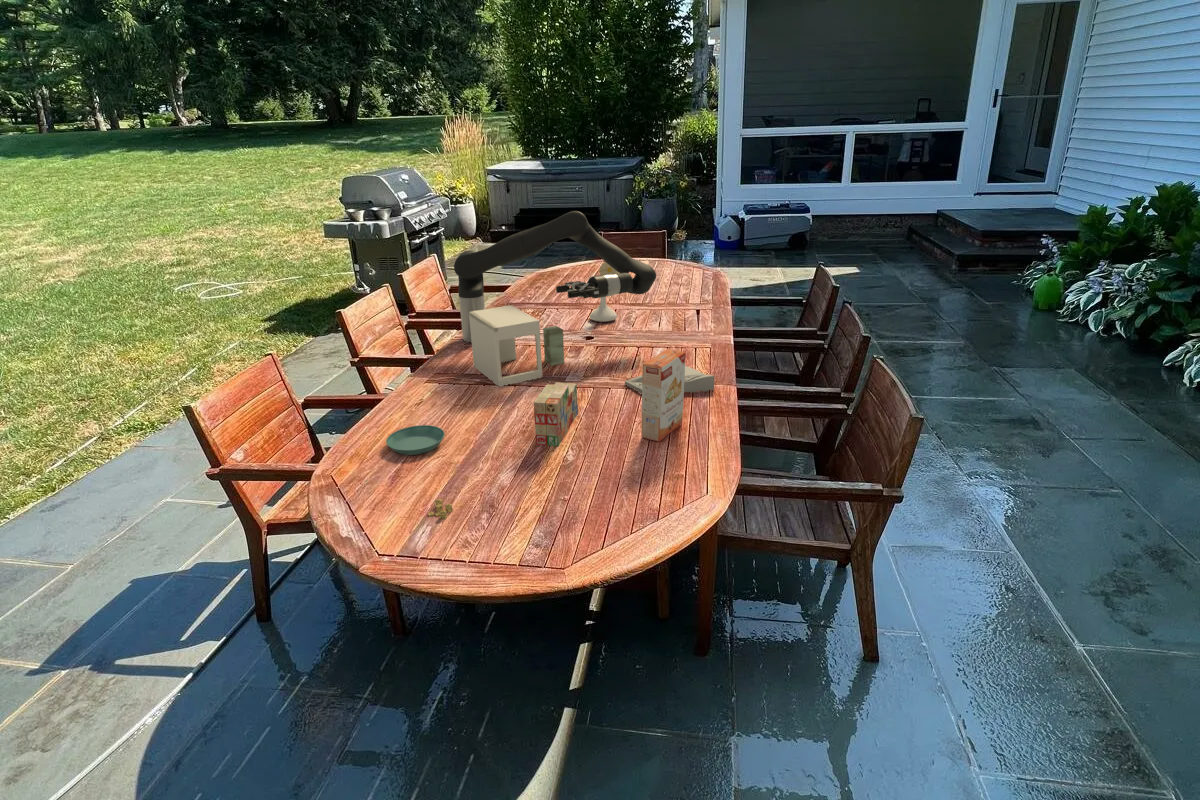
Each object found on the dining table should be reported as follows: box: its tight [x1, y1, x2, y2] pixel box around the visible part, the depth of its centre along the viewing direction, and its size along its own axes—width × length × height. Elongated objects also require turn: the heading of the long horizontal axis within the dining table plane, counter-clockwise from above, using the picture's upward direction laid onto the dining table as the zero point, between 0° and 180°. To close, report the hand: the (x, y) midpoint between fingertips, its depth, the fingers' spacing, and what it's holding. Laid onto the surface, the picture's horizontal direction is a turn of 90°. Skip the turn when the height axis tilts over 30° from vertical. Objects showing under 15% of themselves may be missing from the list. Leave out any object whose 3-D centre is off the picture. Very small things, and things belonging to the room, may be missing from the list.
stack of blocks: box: [533, 382, 579, 447], centre depth 180 cm, size 21×6×12 cm, turn 168°
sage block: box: [542, 325, 565, 366], centre depth 229 cm, size 5×5×12 cm
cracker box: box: [640, 348, 687, 443], centre depth 175 cm, size 14×6×21 cm, turn 148°
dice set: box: [427, 498, 453, 520], centre depth 144 cm, size 5×5×2 cm
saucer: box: [385, 424, 446, 456], centre depth 174 cm, size 15×15×3 cm
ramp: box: [624, 365, 715, 394], centre depth 207 cm, size 28×16×5 cm, turn 80°
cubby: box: [469, 304, 543, 387], centre depth 220 cm, size 22×15×19 cm
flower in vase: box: [589, 261, 619, 323], centre depth 273 cm, size 13×11×25 cm
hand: (562, 292), depth 224 cm, fingers open, 8 cm apart
